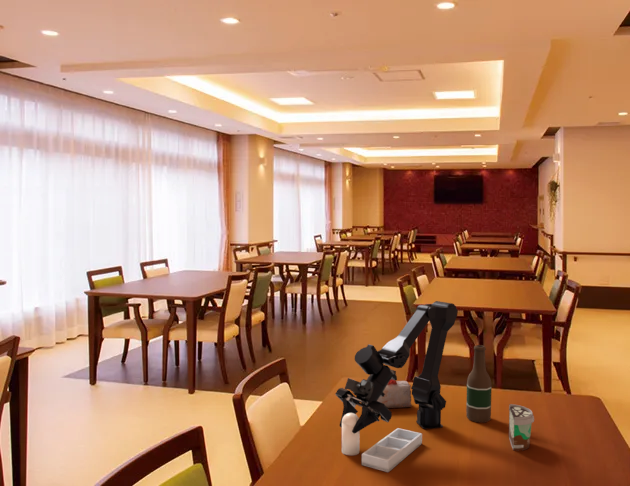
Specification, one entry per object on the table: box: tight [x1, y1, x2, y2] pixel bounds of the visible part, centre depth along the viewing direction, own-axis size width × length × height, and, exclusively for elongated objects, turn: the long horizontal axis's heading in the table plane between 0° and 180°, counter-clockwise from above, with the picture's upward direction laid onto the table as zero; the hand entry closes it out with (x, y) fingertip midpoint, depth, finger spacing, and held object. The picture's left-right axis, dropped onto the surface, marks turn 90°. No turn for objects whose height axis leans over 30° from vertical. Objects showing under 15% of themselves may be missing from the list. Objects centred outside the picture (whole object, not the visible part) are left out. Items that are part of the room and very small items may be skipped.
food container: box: [508, 403, 535, 452], centre depth 168 cm, size 12×6×10 cm, turn 168°
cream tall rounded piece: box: [341, 413, 361, 456], centre depth 163 cm, size 5×5×11 cm
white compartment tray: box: [361, 427, 423, 473], centre depth 162 cm, size 22×8×3 cm, turn 147°
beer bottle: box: [465, 344, 493, 423], centre depth 189 cm, size 8×8×24 cm
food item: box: [377, 379, 412, 409], centre depth 201 cm, size 14×8×10 cm, turn 100°
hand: (346, 429), depth 162 cm, fingers closed on cream tall rounded piece, 5 cm apart
